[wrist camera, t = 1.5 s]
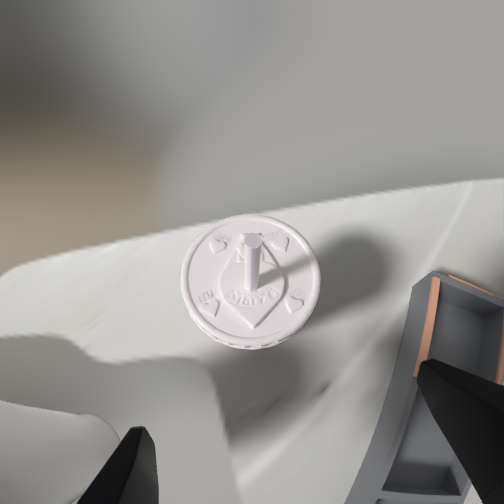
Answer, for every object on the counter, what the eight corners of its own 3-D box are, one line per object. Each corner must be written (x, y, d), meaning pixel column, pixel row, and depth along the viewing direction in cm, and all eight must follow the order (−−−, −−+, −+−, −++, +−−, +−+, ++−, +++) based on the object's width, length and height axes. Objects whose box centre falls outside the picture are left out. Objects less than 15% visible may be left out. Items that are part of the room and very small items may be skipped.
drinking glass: (135, 412, 20) (-12, 417, 6) (135, 493, 17) (14, 575, 3) (59, 396, 20) (-94, 367, 6) (59, 472, 17) (-82, 498, 3)
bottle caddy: (400, 568, 13) (419, 585, 9) (310, 564, 14) (320, 587, 11) (485, 310, 23) (510, 297, 19) (413, 282, 24) (435, 264, 21)
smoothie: (205, 367, 21) (145, 327, 9) (205, 282, 24) (163, 155, 11) (296, 363, 22) (366, 317, 9) (289, 279, 24) (331, 150, 12)
